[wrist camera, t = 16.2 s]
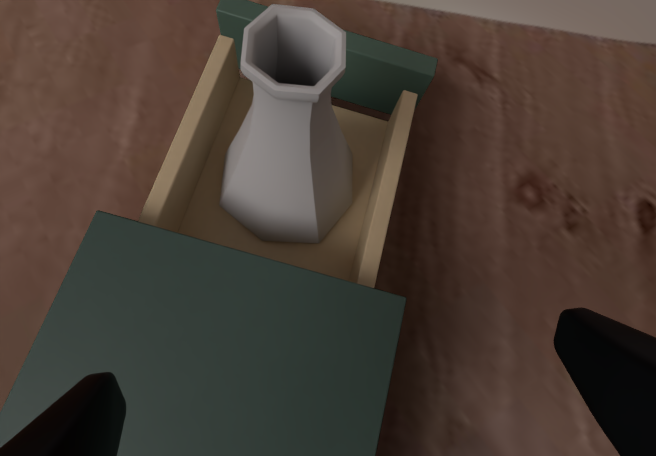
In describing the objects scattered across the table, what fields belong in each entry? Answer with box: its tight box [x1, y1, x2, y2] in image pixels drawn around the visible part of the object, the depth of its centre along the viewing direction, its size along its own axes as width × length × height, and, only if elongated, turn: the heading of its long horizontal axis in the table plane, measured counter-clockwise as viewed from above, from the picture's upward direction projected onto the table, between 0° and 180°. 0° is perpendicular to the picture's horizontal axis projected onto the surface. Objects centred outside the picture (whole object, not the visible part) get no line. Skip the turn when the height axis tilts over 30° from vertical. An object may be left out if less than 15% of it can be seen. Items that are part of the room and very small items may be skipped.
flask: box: [219, 4, 352, 243], centre depth 16 cm, size 7×7×10 cm
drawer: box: [138, 0, 438, 288], centre depth 20 cm, size 17×12×4 cm
